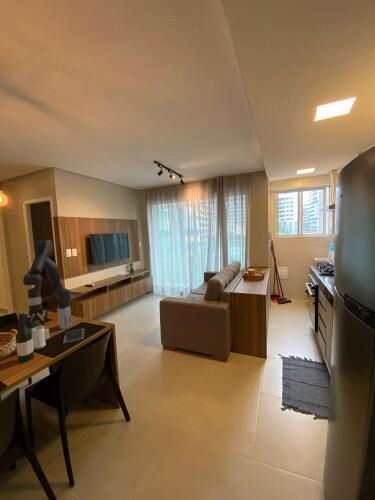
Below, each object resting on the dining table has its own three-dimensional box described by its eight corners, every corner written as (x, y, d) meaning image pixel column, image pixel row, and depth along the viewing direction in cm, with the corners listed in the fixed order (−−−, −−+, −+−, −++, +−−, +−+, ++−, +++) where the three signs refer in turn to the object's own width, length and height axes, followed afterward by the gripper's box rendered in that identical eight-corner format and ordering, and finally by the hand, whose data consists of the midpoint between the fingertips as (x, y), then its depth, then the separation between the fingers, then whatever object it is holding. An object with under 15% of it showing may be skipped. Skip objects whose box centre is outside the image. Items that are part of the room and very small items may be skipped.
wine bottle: (24, 355, 139) (19, 311, 137) (37, 354, 140) (32, 310, 137) (14, 363, 131) (9, 316, 128) (29, 362, 132) (24, 315, 129)
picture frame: (65, 333, 168) (63, 344, 152) (65, 331, 168) (62, 342, 152) (84, 330, 174) (83, 340, 157) (84, 327, 174) (83, 337, 157)
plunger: (43, 336, 153) (41, 319, 152) (42, 339, 149) (41, 321, 148) (34, 338, 151) (32, 320, 150) (33, 341, 146) (31, 323, 145)
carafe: (50, 341, 157) (48, 324, 156) (49, 345, 150) (47, 328, 149) (33, 345, 152) (31, 327, 151) (32, 350, 145) (30, 332, 144)
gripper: (47, 299, 154) (50, 322, 156) (23, 303, 147) (25, 327, 149) (47, 302, 148) (49, 325, 149) (21, 306, 141) (23, 331, 142)
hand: (37, 326), depth 149 cm, fingers open, 6 cm apart
